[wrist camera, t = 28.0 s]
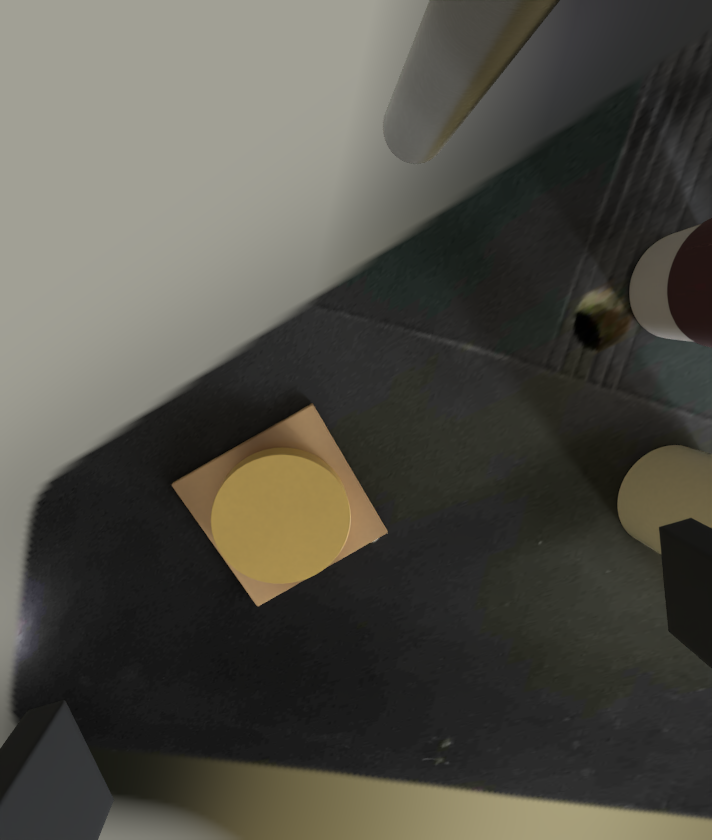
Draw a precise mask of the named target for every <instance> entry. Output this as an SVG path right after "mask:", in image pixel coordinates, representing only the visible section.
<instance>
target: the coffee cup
mask: <svg viewBox="0 0 712 840" xmlns="http://www.w3.org/2000/svg"><path fill="white" fill-rule="evenodd" d="M629 298H630V305H631V308H632V311H633V314H634V316H635V318H636V319H637V321H638V322H639V324H640V325H641V326H642V327H643V328H644V329H646V330H647V331H648V332H650V333H652V334H654V335H656V336H658V337H662V338H667V339H675V340H683V341H691V342H696V343H698V344H700V345H703V346H707V347H712V218H711V219H709V220H707V221H705V222H704V223H702V224H700V225H697V226H694V227H691V228H688V229H685V230H682V231H679V232H676V233H673V234H670V235H668V236H666V237H664V238H662V239H660V240H659V241H657V242H656V243H654V244H653V245H652V246H651V247H650V248H648V250H647V251H646V252H645V253H644V254H643V255H642V257H641V258H640V260H639V261H638V263H637V265H636V267H635V269H634V272H633V274H632V277H631V282H630V290H629Z"/></svg>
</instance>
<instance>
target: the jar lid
mask: <svg viewBox="0 0 712 840" xmlns="http://www.w3.org/2000/svg"><path fill="white" fill-rule="evenodd" d="M350 522H351V513H350V506H349V501H348V498H347V494H346V491H345V488H344V485H343V483H342V481H341V479H340V478H339V476H338V475H337V473H336V472H335V471H334V470H333V469H332V467H331V466H330V465H328V464H327V463H326V462H325V461H324V460H322V459H321V458H319V457H317V456H316V455H314V454H311V453H309V452H306V451H303V450H300V449H295V448H284V447H281V448H271V449H266V450H262V451H260V452H257V453H254V454H252V455H250V456H248V457H247V458H245V459H244V460H242V461H240V462H239V463H238V464H237V465H236V466H235V467H234V468H233V469H232V470H231V471H230V472H229V473H228V475H227V476H226V478H225V479H224V481H223V483H222V485H221V486H220V488H219V491H218V493H217V495H216V497H215V499H214V502H213V506H212V511H211V530H212V534H213V538H214V541H215V543H216V546H217V548H218V550H219V551H220V553H221V555H222V556H223V557H224V558H225V560H226V561H227V562H228V563H229V564H230V565H231V566H232V567H233V568H235V569H236V570H237V571H239V572H240V573H242V574H244V575H245V576H247V577H249V578H252V579H255V580H257V581H261V582H266V583H273V584H285V583H293V582H297V581H301V580H304V579H307V578H309V577H311V576H314V575H316V574H317V573H319V572H320V571H322V570H323V569H325V568H326V567H327V566H328V565H329V564H331V563H332V561H333V560H334V559H335V558H336V557H337V556H338V554H339V553H340V552H341V550H342V548H343V546H344V544H345V542H346V540H347V537H348V534H349V529H350Z"/></svg>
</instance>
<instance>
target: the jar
mask: <svg viewBox="0 0 712 840" xmlns="http://www.w3.org/2000/svg"><path fill="white" fill-rule="evenodd" d="M617 508H618V515H619V518H620V521H621V523H622V525H623V527H624V529H625V530H626V531H627V533H628V534H629V535H630V536H632V537H633V538H634V539H636V540H637V541H639V542H640V543H642V544H644V545H645V546H647V547H648V548H650V549H651V550H653V551H655V552H656V553H658V554H659V555H661V545H660V534H659V527H661V526H664V525H668V524H671V523H675V522H678V521H682V520H685V519H688V518H693V519H694V520H696V521H698V522H700V523H702V524H704V525H706V526H708V527H710V528H712V454H710V453H707V452H704V451H700V450H697V449H694V448H691V447H687V446H682V445H669V446H664V447H660V448H658V449H655V450H653V451H651V452H649V453H647V454H646V455H644V456H643V457H642V458H640V459H639V460H638V461H637V462H636V463H635V464H634V465H633V466H632V467H631V469H630V470H629V471H628V473H627V474H626V476H625V478H624V480H623V482H622V484H621V487H620V490H619V494H618V501H617Z"/></svg>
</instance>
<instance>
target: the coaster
mask: <svg viewBox="0 0 712 840" xmlns="http://www.w3.org/2000/svg"><path fill="white" fill-rule="evenodd" d="M281 447H284V448H295V449H300V450H303V451H306V452H309V453H311V454H314V455H316V456H317V457H319V458H321V459H322V460H324V461H325V462H326V463H327V464H328V465H330V466H331V467H332V469H333V470H334V471H335V472H336V473H337V475H338V476H339V478H340V479H341V481H342V483H343V485H344V488H345V491H346V494H347V498H348V501H349V506H350V513H351V522H350V529H349V534H348V537H347V540H346V542H345V544H344V546H343V548H342V550H341V552H340V553H339V554H338V556H337V557H336V558H335V559H334V560H333V561H332V563H331V564H329V565H328V566H330V565H332V564H333V563H335V562H337V561H339V560H340V559H342V558H344V557H346V556H347V555H349V554H351V553H353V552H354V551H356V550H358V549H360V548H361V547H363V546H365V545H367V544H368V543H370V542H372V541H374V540H375V539H377V538H379V537H381V536H382V535H384V534H386V533H387V532H388V531H387V529H386V527H385V526H384V524H383V522H382V521H381V519H380V517H379V515H378V514H377V512H376V510H375V509H374V507H373V505H372V503H371V502H370V500H369V498H368V497H367V495H366V493H365V492H364V490H363V488H362V486H361V485H360V483H359V481H358V480H357V478H356V476H355V475H354V473H353V471H352V469H351V468H350V466H349V464H348V463H347V461H346V459H345V458H344V456H343V454H342V452H341V451H340V449H339V447H338V446H337V444H336V442H335V440H334V439H333V437H332V435H331V434H330V432H329V430H328V429H327V427H326V425H325V423H324V422H323V420H322V418H321V417H320V415H319V413H318V412H317V410H316V408H315V406H314V405H313V404H310V405H308V406H306V407H305V408H303V409H301V410H299V411H298V412H296V413H294V414H292V415H291V416H289V417H287V418H285V419H283V420H282V421H280V422H278V423H276V424H275V425H273V426H271V427H269V428H268V429H266V430H264V431H262V432H261V433H259V434H257V435H255V436H254V437H252V438H250V439H248V440H246V441H245V442H243V443H241V444H239V445H238V446H236V447H234V448H232V449H231V450H229V451H227V452H225V453H224V454H222V455H220V456H218V457H217V458H215V459H213V460H211V461H209V462H208V463H206V464H204V465H202V466H201V467H199V468H197V469H195V470H194V471H192V472H190V473H188V474H187V475H185V476H183V477H181V478H180V479H178V480H176V481H174V482H173V483H172V487H173V488H174V490H175V491H176V492H177V494H178V495H179V497H180V498H181V499H182V501H183V502H184V504H185V505H186V506H187V508H188V509H189V511H190V512H191V514H192V515H193V516H194V518H195V519H196V521H197V522H198V523H199V525H200V526H201V528H202V529H203V531H204V532H205V533H206V535H207V536H208V538H209V539H210V540H211V542H212V543H213V545H214V546H215V547H216V549H217V550H218V548H217V546H216V543H215V541H214V538H213V534H212V530H211V511H212V506H213V502H214V499H215V497H216V495H217V493H218V491H219V488H220V486H221V485H222V483H223V481H224V479H225V478H226V476H227V475H228V473H229V472H230V471H231V470H232V469H233V468H234V467H235V466H236V465H237V464H238V463H239V462H240V461H242V460H244V459H245V458H247V457H248V456H250V455H252V454H254V453H257V452H260V451H262V450H266V449H271V448H281ZM218 552H219V553H220V551H219V550H218ZM220 555H221V553H220ZM221 556H222V555H221ZM222 557H223V556H222ZM223 559H224V560H225V558H224V557H223ZM225 562H226V563H227V564H228V566H229V567H230V569H231V570H232V571H233V573H234V574H235V576H236V577H237V579H238V580H239V581H240V583H241V584H242V586H243V587H244V588H245V590H246V591H247V593H248V594H249V595H250V597H251V598H252V600H253V601H254V603H255V604H256V605H257V606H259V605H261V604H263V603H265V602H267V601H268V600H270V599H272V598H274V597H275V596H277V595H279V594H281V593H282V592H284V591H286V590H288V589H289V588H291V587H293V586H295V585H296V584H298V583H300V582H302V581H303V580H301V581H297V582H293V583H285V584H273V583H266V582H261V581H257V580H255V579H252V578H249V577H247V576H245V575H244V574H242V573H240V572H239V571H237V570H236V569H235V568H233V567H232V566H231V565H230V564H229V563H228V562H227V561H226V560H225ZM328 566H327V567H328ZM304 580H305V579H304Z"/></svg>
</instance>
